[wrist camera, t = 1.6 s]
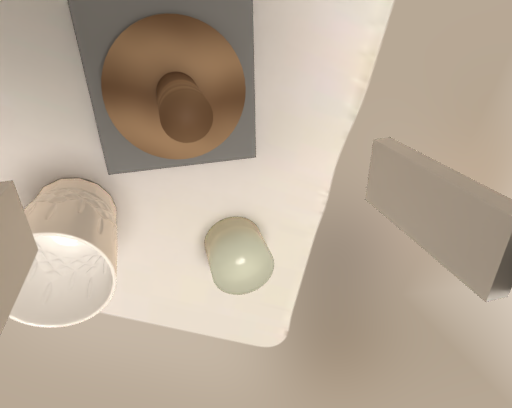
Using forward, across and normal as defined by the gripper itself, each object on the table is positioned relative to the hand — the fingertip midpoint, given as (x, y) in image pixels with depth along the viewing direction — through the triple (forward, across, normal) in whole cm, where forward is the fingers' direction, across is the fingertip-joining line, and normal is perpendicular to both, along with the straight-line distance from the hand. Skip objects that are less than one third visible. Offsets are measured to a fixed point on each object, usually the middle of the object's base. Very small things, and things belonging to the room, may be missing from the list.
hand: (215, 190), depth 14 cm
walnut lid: (+18, 0, 0) cm, 18 cm away
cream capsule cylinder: (+19, +4, -16) cm, 25 cm away
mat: (+19, 0, 0) cm, 19 cm away
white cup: (+20, -10, -10) cm, 24 cm away
